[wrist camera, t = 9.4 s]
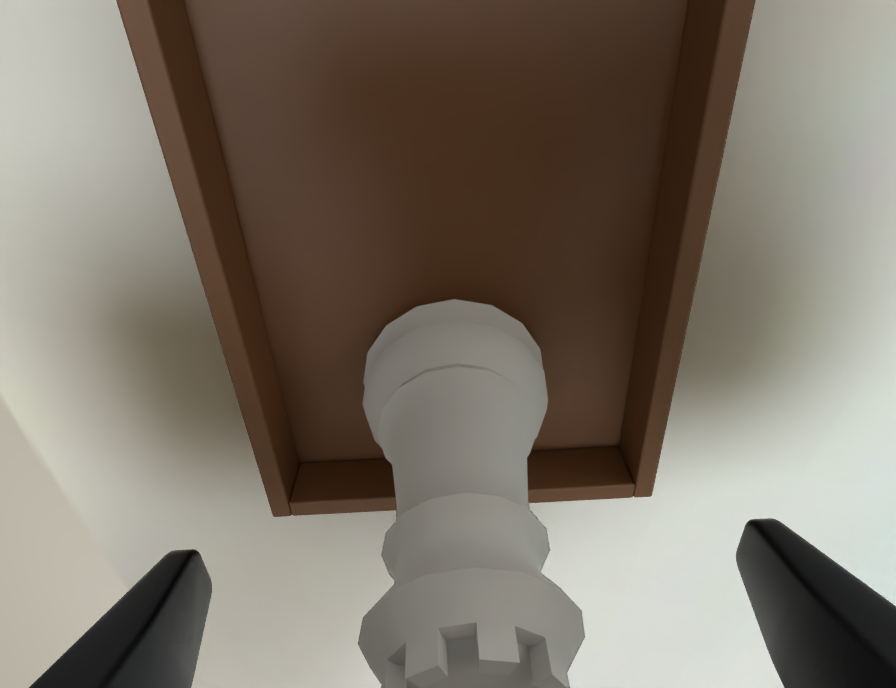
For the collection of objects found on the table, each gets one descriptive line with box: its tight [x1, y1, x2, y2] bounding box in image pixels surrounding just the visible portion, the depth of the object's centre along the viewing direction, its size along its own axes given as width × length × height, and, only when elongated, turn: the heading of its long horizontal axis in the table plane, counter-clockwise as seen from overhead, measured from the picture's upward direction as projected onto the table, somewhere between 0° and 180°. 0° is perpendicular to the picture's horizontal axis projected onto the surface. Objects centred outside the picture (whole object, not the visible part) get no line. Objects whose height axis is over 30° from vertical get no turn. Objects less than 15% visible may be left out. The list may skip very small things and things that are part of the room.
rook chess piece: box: [358, 299, 585, 688], centre depth 11 cm, size 4×4×8 cm
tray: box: [116, 0, 755, 517], centre depth 11 cm, size 10×16×2 cm, turn 3°
